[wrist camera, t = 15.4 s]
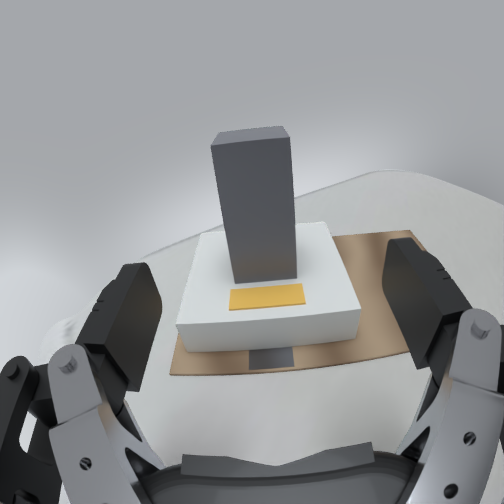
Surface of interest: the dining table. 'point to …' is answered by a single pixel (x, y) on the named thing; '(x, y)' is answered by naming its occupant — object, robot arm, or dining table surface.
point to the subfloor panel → (324, 354)
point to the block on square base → (263, 259)
